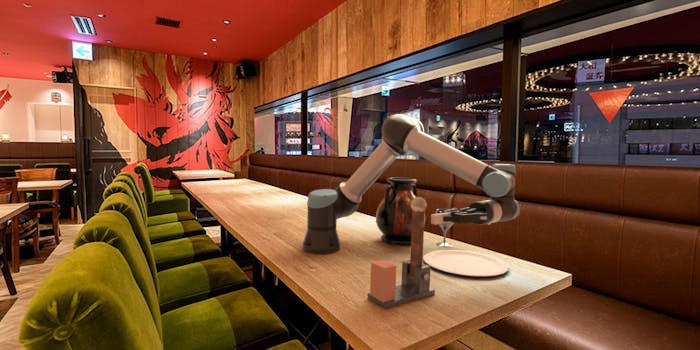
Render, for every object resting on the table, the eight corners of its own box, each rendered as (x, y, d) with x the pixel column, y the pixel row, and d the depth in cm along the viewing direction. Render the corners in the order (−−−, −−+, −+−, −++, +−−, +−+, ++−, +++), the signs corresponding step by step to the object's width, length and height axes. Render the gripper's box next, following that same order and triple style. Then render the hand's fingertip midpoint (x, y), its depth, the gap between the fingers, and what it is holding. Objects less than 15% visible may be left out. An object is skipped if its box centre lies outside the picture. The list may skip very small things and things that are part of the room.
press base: (414, 285, 108) (415, 257, 108) (436, 295, 101) (437, 266, 100) (366, 297, 98) (367, 267, 98) (386, 310, 91) (388, 277, 90)
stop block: (381, 291, 99) (382, 259, 98) (395, 299, 94) (396, 265, 94) (370, 294, 97) (371, 262, 96) (383, 302, 92) (384, 268, 91)
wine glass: (454, 248, 150) (456, 212, 149) (435, 246, 152) (436, 211, 150) (453, 243, 158) (454, 209, 157) (434, 241, 159) (436, 208, 158)
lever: (415, 272, 105) (419, 195, 103) (426, 277, 101) (430, 197, 100) (404, 274, 103) (407, 196, 101) (415, 279, 99) (418, 198, 97)
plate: (454, 249, 149) (454, 245, 149) (524, 269, 127) (524, 264, 126) (406, 262, 131) (406, 257, 131) (478, 287, 108) (478, 282, 108)
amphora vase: (398, 233, 173) (400, 175, 171) (434, 243, 157) (437, 179, 154) (365, 239, 160) (366, 177, 158) (400, 251, 143) (403, 181, 141)
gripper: (501, 227, 111) (450, 237, 98) (466, 220, 122) (416, 227, 109) (502, 203, 111) (451, 210, 98) (467, 198, 122) (417, 203, 109)
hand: (433, 219), depth 103 cm, fingers closed
